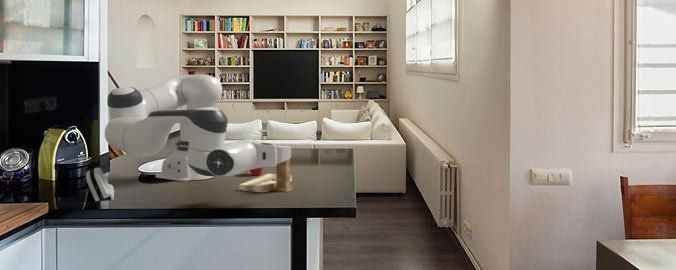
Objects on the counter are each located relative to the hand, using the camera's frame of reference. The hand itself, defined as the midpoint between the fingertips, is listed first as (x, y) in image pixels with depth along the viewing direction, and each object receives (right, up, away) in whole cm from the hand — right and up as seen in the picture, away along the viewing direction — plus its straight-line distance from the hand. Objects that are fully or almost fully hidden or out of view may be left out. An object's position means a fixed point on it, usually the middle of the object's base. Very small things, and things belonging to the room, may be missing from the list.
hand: (268, 148), depth 160 cm
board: (-3, -14, +21) cm, 25 cm away
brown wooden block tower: (+3, -14, +14) cm, 20 cm away
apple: (-11, -12, +41) cm, 44 cm away
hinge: (-54, -15, +3) cm, 56 cm away
